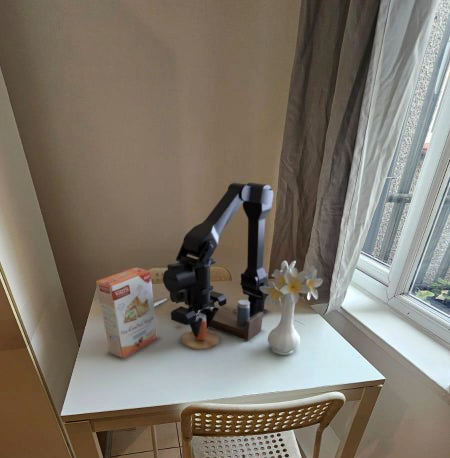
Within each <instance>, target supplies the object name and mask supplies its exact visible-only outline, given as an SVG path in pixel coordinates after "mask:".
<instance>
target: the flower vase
mask: <svg viewBox="0 0 450 458" xmlns="http://www.w3.org/2000/svg"><path fill="white" fill-rule="evenodd" d="M296 263H297V261H296V260H293V261H292V262H291V263H290V264H288V261H287V260H283V261H281V264H280V269H278V268H277V269H275V270H273V273H271V277H272V278H274V279H275V280H273V281H272V280H267V281H268V287H264V286H260V287H259V289H260V290H261V291H262V292H263V293H265V294H269V295H268V296H267V297H266V299H265V304H264V305H266V306H270V305H271V304H272V303H274V305H275V306H276V308H277V309H278V310H281V309H282V313H281V316H280V320H279V323H278V324H277V326H276V327H274V328H273V329H272V330H271V331H270V332H269V333H268V335H267V343H268V345H269V346H270V347H271V350H272V351H273V352H274V353H275V354H278V355H280V356H281V355H282V356H287V355H290V354H292V353H293V351H295V350H296V349H297V348H298V347H299V346H300V345H301V337H300V335H299V333H298V331H297V330H296V329H295V326H294V315H295V306H296V304H297V303H298V302H299V299H300V294H306V298H307V300H308V301H310V300H311V298H312V297H313V299H315V300H318V299H319V292H318V290H317V288H318V287H320V286H322V284H323V278H317V276H318V269H316V267H315V266H314V265H311V266H310V263H309V261H308V259H306V258H305V270H303V271H300V272H299V270H298V269H297V268H296V267H295V266H296ZM305 279H306V283H303V282H304V281H305ZM281 299H283V307H282V303H281V302H282V301H281Z"/></svg>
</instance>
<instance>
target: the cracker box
mask: <svg viewBox="0 0 450 458" xmlns="http://www.w3.org/2000/svg"><path fill="white" fill-rule="evenodd" d="M95 283H96V284H95V285H96V289H97V294H98V300H99V304H100V310H101V314H102V320H103V326H104V331H105V337H106V341H107V346H108V352H109V353H110V354H111V355H114V356H116V357H119V358H120V359H125V358H127V357H129V356H130V355H132V354H134V353H135V352H137V351H139V350H140V349H142V348H144V347H145V346H147V345H148V344H150V343H152V342H154V341H156V340H157V339H158V338H157V328H156V317H155V307H154V304H153V303H154V296H153V295H154V294H153V283H152V273H151V271H150V270H147V269H144V268H140V267H137V266H136V267H133V268H129V269H126V270H124V271H121V272H118V273H115V274H113V275H109V276H107V277H103V278H101V279H98V280H96V281H95Z"/></svg>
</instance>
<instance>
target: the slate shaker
mask: <svg viewBox="0 0 450 458" xmlns="http://www.w3.org/2000/svg"><path fill="white" fill-rule="evenodd" d="M236 308H237V309H236V315H237V324H238V325H240V326H246V320H248V319H249V318H250V315H249V313H250V302H249V301H248V299H240V300H238V302H237V307H236Z"/></svg>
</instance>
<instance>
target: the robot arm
mask: <svg viewBox="0 0 450 458" xmlns="http://www.w3.org/2000/svg"><path fill="white" fill-rule="evenodd" d="M273 199H274V191H273V188H272V187H271V185H269V184H266V183H265V184H264V183H258V182H247V184H246V183H240V182H232V183H230V184H229V185H228V187H227V190H226V191H225V193H224V194H223V196H222V197H221V198H220V200H219V201H218V203H217V204H216V205H215V207H214V208H213V209H212V211H210V213H209V214H208V216H207V217H206V218H205V219H204V221H202V222H201V223H199V224H196V225H194V226H193V227H192V228H191V229H190V230H189V231H187V232H186V234H185V235H184V237H183V242H182V244H181V246H180V249H179V251H178V253H177V255H176V257H175V261H176V262H175V263H169V264H167V267H166V268H167V269H166V270H165V271H164V272H163V275H162V282H163V285H164V287H165V289H166V290H167V291H168V292H169V298H170V301H171V302H172V303H175V304H180V303H184V305H185V306H188V305H190V306H191V307H188V308H187V307H185V306H182V305H181V306H178V307H176V308H175V309H172V310H171V312H170V320H171V321H173V322H176V323H178V324H181V325H184V326H189V327H190V329H191V331H192V332H193V334H194V336H196V337H198V334H199V331H200V327H201V323H202V318H200V317H199V312H201V313H202V314H205V315H206V319H207V330H208V329H209V328H210V327H209V325H210V323H211V321H212V319H213V318H214V316H215V314H216V312H217V311H218V310H219V309H220V308H221V307H224V306H225V305H227V296H226V295H225V294H224V293H220V292H218V291H216V290H215V291H214V285H211V265H215V264H216V263H217V261H216V260H215V259H214V258H213V257H212V256H213V255H214V253H215V251H216V249H217V247H218V245H219V237H220V235H221V234H222V232H223V230H224V229H225V228H226V227H227V225H228V224H229V222H230V221H231V220H232V218H233V217H234V215H235V214H236V213H237V212H238V210H239V209H240V207H241V206H242V210H243V211H244V214H245V215H246V217H247V265H246V268H245V270H244V272H242V273H241V274H240V286H241V289H242V294H243V295H245V296H248V297H247V301H249V302H250V313H249V316H251V317H252V316H254V315H255V314H257V313H259V312H262V313H263V315H265V314H266V313H268V309H266V308H265V305H266V304H265V299H266V297H267V296H268V295H269V294H265V293H263V292H262V291H261V290H260V289H259V287H260V286H264V287H268V281H269V280H268V274H267V272H266V270H265V268H264V251H265V232H266V231H265V230H266V218H267V216H268V215H269V214H270V212H271V210H272V205H273ZM191 256H192V257H191ZM210 291H211V292H210ZM215 303H217V305H218V306H219V307H220V308H219V307H216V304H215Z"/></svg>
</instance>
